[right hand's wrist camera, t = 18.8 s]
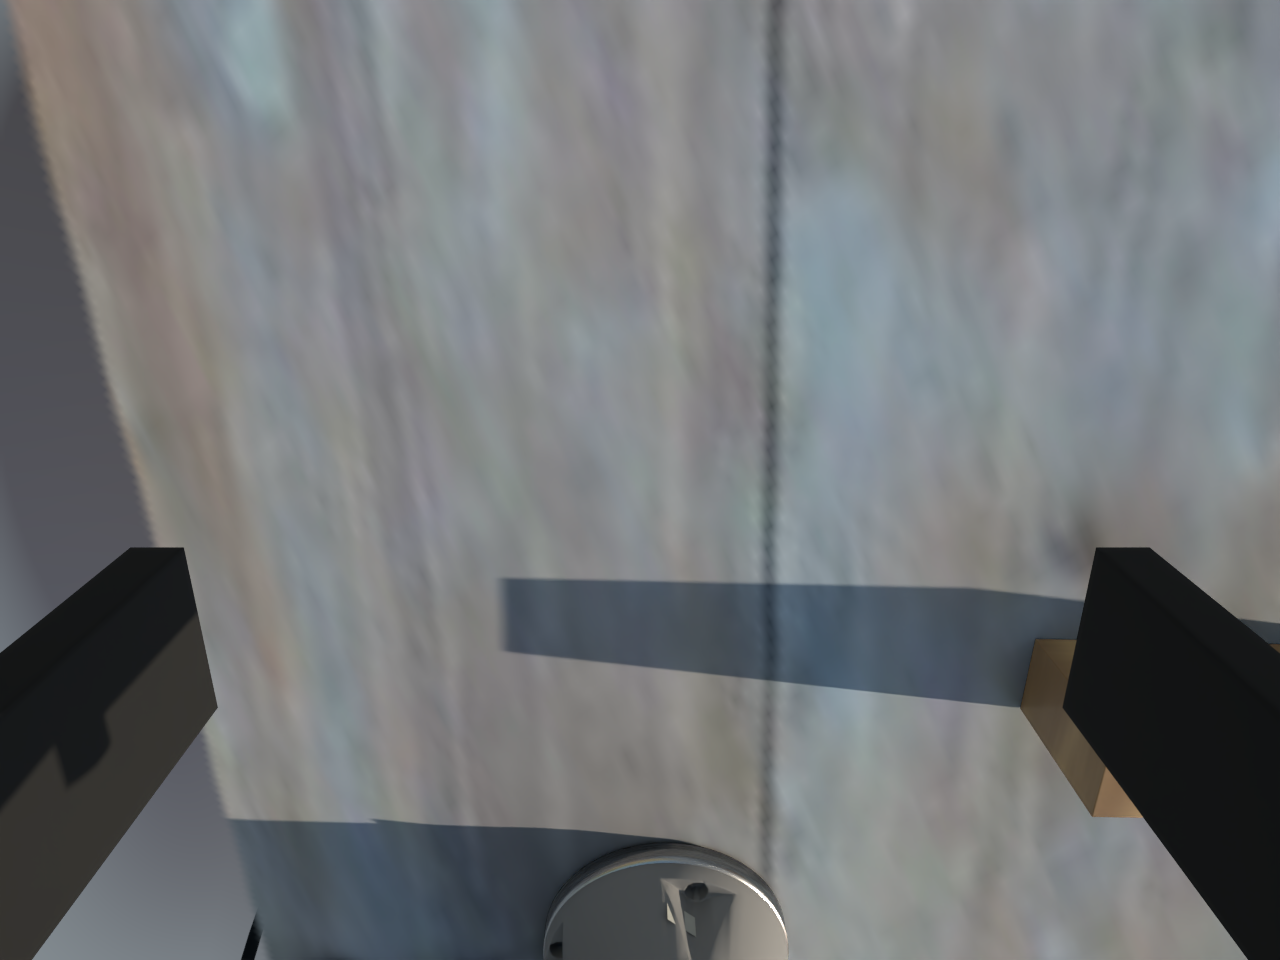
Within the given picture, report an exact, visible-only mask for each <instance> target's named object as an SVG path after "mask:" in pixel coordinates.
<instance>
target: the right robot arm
mask: <svg viewBox="0 0 1280 960" xmlns="http://www.w3.org/2000/svg"><path fill="white" fill-rule="evenodd" d="M217 708H218V707H217V702H216V697H215V693H214V688H213V683H212V678H211V674H210V669H209V664H208V660H207V655H206V650H205V645H204V641H203V636H202V631H201V627H200V622H199V617H198V612H197V608H196V603H195V598H194V594H193V589H192V584H191V579H190V575H189V570H188V565H187V561H186V556H185V551H184V548H129V549H128V550H127V551H126V552H124V553H123V554H122V555H121V556H119V557H118V558H117V559H116V560H115V561H113V562H112V563H111V564H110V565H108V566H107V567H106V568H105V569H103V570H102V571H101V572H100V573H99V574H97V575H96V576H95V577H94V578H92V579H91V580H90V581H89V582H87V583H86V584H85V585H84V586H82V587H81V588H80V589H79V590H78V591H76V592H75V593H74V594H73V595H71V596H70V597H69V598H68V599H66V600H65V601H64V602H63V603H62V604H60V605H59V606H58V607H57V608H55V609H54V610H53V611H52V612H50V613H49V614H48V615H47V616H45V617H44V618H43V619H42V620H40V621H39V622H38V623H37V624H36V625H34V626H33V627H32V628H31V629H29V630H28V631H27V632H26V633H25V634H23V635H22V636H21V637H20V638H18V639H17V640H16V641H15V642H13V643H12V644H11V645H10V646H8V647H7V648H6V649H5V650H4V651H2V652H1V653H0V960H32V959H33V957H34V956H35V955H36V953H37V952H38V951H39V949H40V948H41V947H42V945H43V944H44V943H45V941H46V940H47V938H48V937H49V936H50V934H51V933H52V932H53V930H54V929H55V928H56V926H57V925H58V924H59V922H60V921H61V919H62V918H63V917H64V915H65V914H66V913H67V911H68V910H69V909H70V907H71V906H72V905H73V903H74V902H75V900H76V899H77V898H78V896H79V895H80V894H81V892H82V891H83V890H84V888H85V887H86V886H87V884H88V883H89V881H90V880H91V879H92V877H93V876H94V875H95V873H96V872H97V870H98V869H99V868H100V867H101V865H102V864H103V862H104V861H105V860H106V858H107V857H108V856H109V854H110V853H111V852H112V850H113V849H114V847H115V846H116V845H117V843H118V842H119V841H120V839H121V838H122V837H123V835H124V834H125V833H126V831H127V830H128V829H129V827H130V826H131V824H132V823H133V822H134V820H135V819H136V818H137V816H138V815H139V814H140V812H141V811H142V810H143V808H144V807H145V806H146V804H147V803H148V801H149V800H150V799H151V797H152V796H153V795H154V793H155V792H156V790H157V789H158V788H159V787H160V785H161V784H162V782H163V781H164V780H165V778H166V777H167V776H168V774H169V773H170V772H171V770H172V769H173V768H174V766H175V765H176V763H177V762H178V761H179V759H180V758H181V757H182V755H183V754H184V753H185V751H186V750H187V749H188V747H189V746H190V744H191V743H192V742H193V740H194V739H195V738H196V736H197V735H198V734H199V732H200V731H201V730H202V728H203V727H204V725H205V724H206V723H207V721H208V720H209V719H210V717H211V716H212V715H213V713H214V712H215V711H216V709H217ZM1062 708H1063V709H1064V711H1065V712H1066V713H1067V715H1068V716H1069V717H1070V719H1071V720H1072V721H1073V723H1074V724H1075V725H1076V727H1077V728H1078V730H1079V731H1080V732H1081V734H1082V735H1083V736H1084V738H1085V739H1086V740H1087V742H1088V743H1089V744H1090V746H1091V747H1092V749H1093V750H1094V751H1095V753H1096V754H1097V755H1098V757H1099V758H1100V759H1101V761H1102V762H1103V763H1104V765H1105V766H1106V768H1107V769H1108V770H1109V772H1110V773H1111V774H1112V776H1113V777H1114V778H1115V780H1116V781H1117V782H1118V784H1119V785H1120V787H1121V788H1122V789H1123V791H1124V792H1125V793H1126V795H1127V796H1128V797H1129V799H1130V800H1131V801H1132V803H1133V804H1134V806H1135V807H1136V808H1137V810H1138V811H1139V812H1140V814H1141V815H1142V816H1143V818H1144V819H1145V820H1146V822H1147V823H1148V825H1149V826H1150V827H1151V829H1152V830H1153V831H1154V833H1155V834H1156V835H1157V837H1158V838H1159V839H1160V841H1161V842H1162V844H1163V845H1164V846H1165V848H1166V849H1167V850H1168V852H1169V853H1170V854H1171V856H1172V857H1173V858H1174V860H1175V861H1176V862H1177V864H1178V865H1179V867H1180V868H1181V869H1182V871H1183V872H1184V873H1185V875H1186V876H1187V877H1188V879H1189V880H1190V881H1191V883H1192V884H1193V886H1194V887H1195V888H1196V890H1197V891H1198V892H1199V894H1200V895H1201V896H1202V898H1203V899H1204V900H1205V902H1206V903H1207V905H1208V906H1209V907H1210V909H1211V910H1212V911H1213V913H1214V914H1215V915H1216V917H1217V918H1218V919H1219V921H1220V922H1221V924H1222V925H1223V926H1224V928H1225V929H1226V930H1227V932H1228V933H1229V934H1230V936H1231V937H1232V938H1233V940H1234V941H1235V943H1236V944H1237V945H1238V947H1239V948H1240V949H1241V951H1242V952H1243V953H1244V955H1245V956H1246V957H1247V959H1248V960H1280V653H1279V652H1278V651H1277V650H1275V649H1274V648H1273V647H1272V646H1270V645H1269V644H1268V643H1267V642H1265V641H1264V640H1263V639H1262V638H1260V637H1259V636H1258V635H1257V634H1256V633H1254V632H1253V631H1252V630H1251V629H1249V628H1248V627H1247V626H1246V625H1244V624H1243V623H1242V622H1241V621H1240V620H1238V619H1237V618H1236V617H1235V616H1233V615H1232V614H1231V613H1230V612H1228V611H1227V610H1226V609H1225V608H1223V607H1222V606H1221V605H1220V604H1219V603H1217V602H1216V601H1215V600H1214V599H1212V598H1211V597H1210V596H1209V595H1207V594H1206V593H1205V592H1204V591H1202V590H1201V589H1200V588H1199V587H1198V586H1196V585H1195V584H1194V583H1193V582H1191V581H1190V580H1189V579H1188V578H1186V577H1185V576H1184V575H1183V574H1182V573H1180V572H1179V571H1178V570H1177V569H1175V568H1174V567H1173V566H1172V565H1170V564H1169V563H1168V562H1167V561H1165V560H1164V559H1163V558H1162V557H1161V556H1159V555H1158V554H1157V553H1156V552H1154V551H1153V550H1152V549H1151V548H1096V551H1095V556H1094V561H1093V565H1092V570H1091V575H1090V579H1089V584H1088V589H1087V594H1086V598H1085V603H1084V608H1083V612H1082V617H1081V622H1080V627H1079V631H1078V636H1077V641H1076V645H1075V650H1074V655H1073V660H1072V664H1071V669H1070V674H1069V678H1068V683H1067V688H1066V693H1065V697H1064V702H1063V707H1062ZM260 939H261V931H260V929H259V924H258V922H257V919H256V914H255V917H254V920H253V923H252V926H251V929H250V932H249V935H248V938H247V941H246V944H245V948H244V951H243V954H242V958H241V960H255V956H256V953H257V949H258V946H259V942H260ZM543 960H788V940H787V934H786V929H785V924H784V918H783V914H782V911H781V907H780V905H779V903H778V901H777V898H776V897H775V895H774V893H773V892H772V890H771V889H770V888H769V886H768V885H767V884H766V883H765V882H764V881H763V880H762V879H761V878H760V877H759V876H758V875H757V874H756V873H755V872H754V871H752V870H751V869H750V868H748V867H747V866H745V865H744V864H742V863H741V862H739V861H737V860H735V859H733V858H732V857H729V856H727V855H725V854H722V853H720V852H717V851H714V850H711V849H707V848H703V847H699V846H693V845H687V844H677V843H657V844H646V845H639V846H634V847H629V848H625V849H622V850H619V851H615V852H613V853H610V854H608V855H605V856H603V857H601V858H599V859H597V860H595V861H593V862H591V863H590V864H588V865H587V866H585V867H584V868H582V869H581V870H580V871H578V872H577V873H576V874H575V875H573V876H572V877H571V878H570V879H569V880H568V881H567V882H566V883H565V885H564V886H563V887H562V888H561V890H560V891H559V892H558V894H557V895H556V897H555V899H554V901H553V903H552V905H551V907H550V910H549V913H548V917H547V921H546V928H545V937H544V946H543Z"/></svg>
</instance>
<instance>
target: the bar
mask: <svg viewBox="0 0 1280 960" xmlns="http://www.w3.org/2000/svg"><path fill="white" fill-rule="evenodd" d="M1076 641H1077V640H1057V639H1036V640H1035V644H1034V649H1033V653H1032V658H1031V662H1030V667H1029V671H1028V676H1027V680H1026V685H1025V690H1024V694H1023V699H1022V703H1021V710H1022V712H1023V713H1024V715H1025V716H1026V718H1027V719H1028V721H1029V722H1030V724H1031V725H1032V727H1033V728H1034V730H1035V731H1036V733H1037V734H1038V736H1039V737H1040V739H1041V740H1042V742H1043V743H1044V745H1045V746H1046V748H1047V749H1048V751H1049V753H1050V754H1051V756H1052V757H1053V759H1054V760H1055V762H1056V763H1057V765H1058V766H1059V768H1060V769H1061V771H1062V772H1063V774H1064V775H1065V777H1066V778H1067V780H1068V781H1069V783H1070V784H1071V786H1072V787H1073V789H1074V790H1075V792H1076V793H1077V795H1078V796H1079V798H1080V799H1081V801H1082V802H1083V804H1084V805H1085V807H1086V808H1087V810H1088V811H1089V813H1090V814H1091V816H1092V817H1131V818H1143V816H1142V815H1141V814H1140V812H1139V811H1138V810H1137V808H1136V807H1135V806H1134V804H1133V803H1132V801H1131V800H1130V799H1129V797H1128V796H1127V795H1126V793H1125V792H1124V791H1123V789H1122V788H1121V787H1120V785H1119V784H1118V782H1117V781H1116V780H1115V778H1114V777H1113V776H1112V774H1111V773H1110V772H1109V770H1108V769H1107V768H1106V766H1105V765H1104V763H1103V762H1102V761H1101V759H1100V758H1099V757H1098V755H1097V754H1096V753H1095V751H1094V750H1093V749H1092V747H1091V746H1090V744H1089V743H1088V742H1087V740H1086V739H1085V738H1084V736H1083V735H1082V734H1081V732H1080V731H1079V730H1078V728H1077V727H1076V725H1075V724H1074V723H1073V721H1072V720H1071V719H1070V717H1069V716H1068V715H1067V713H1066V712H1065V711H1064V709H1063V708H1062V707H1063V702H1064V697H1065V693H1066V688H1067V683H1068V678H1069V674H1070V669H1071V664H1072V660H1073V655H1074V650H1075V645H1076ZM1269 645H1270V646H1272V647H1273V648H1274V649H1275V650H1277V651H1278V652H1279V653H1280V644H1269Z"/></svg>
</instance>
